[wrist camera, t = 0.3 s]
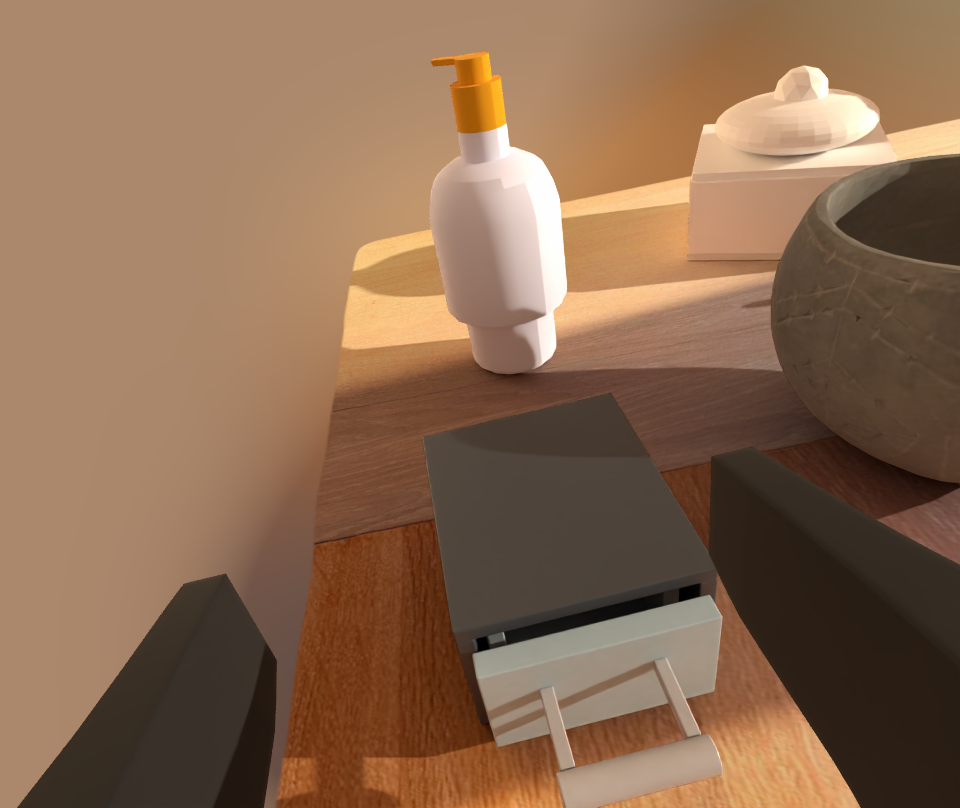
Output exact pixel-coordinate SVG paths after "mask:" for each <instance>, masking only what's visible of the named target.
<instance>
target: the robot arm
mask: <svg viewBox="0 0 960 808" xmlns="http://www.w3.org/2000/svg"><path fill="white" fill-rule="evenodd" d="M709 555H710V557H711V559H712V562H713V564H714V566H715V568H716V570H717V572H718V574H719V576H720V578H721V580H722V583H723V585H724V587H725V589H726V591H727V593H728V595H729V597H730V599H731V601H732V603H733V604H734V606H735V608H736V610H737V612H738V614H739V616H740V618H741V619H742V621H743V623H744V624H745V626H746V627H747V629H748V630H749V632H750V634H751V635H752V637H753V638H754V640H755V641H756V643H757V644H758V646H759V648H760V649H761V651H762V652H763V654H764V655H765V657H766V658H767V660H768V662H769V663H770V665H771V666H772V668H773V669H774V671H775V672H776V674H777V675H778V677H779V678H780V680H781V682H782V683H783V685H784V686H785V688H786V689H787V691H788V692H789V694H790V695H791V697H792V698H793V700H794V701H795V703H796V705H797V706H798V708H799V709H800V711H801V712H802V714H803V715H804V717H805V718H806V720H807V721H808V723H809V724H810V726H811V727H812V729H813V731H814V732H815V734H816V735H817V737H818V738H819V740H820V741H821V743H822V744H823V746H824V747H825V749H826V750H827V752H828V754H829V755H830V757H831V758H832V760H833V761H834V763H835V765H836V766H837V768H838V770H839V771H840V773H841V775H842V776H843V778H844V780H845V781H846V783H847V785H848V786H849V788H850V789H851V791H852V793H853V794H854V796H855V798H856V800H857V802H858V804H859V805H860V807H861V808H960V565H959V564H957V563H955V562H953V561H951V560H949V559H948V558H946V557H944V556H942V555H940V554H938V553H936V552H934V551H932V550H930V549H929V548H927V547H925V546H923V545H921V544H919V543H917V542H915V541H914V540H912V539H910V538H908V537H906V536H904V535H903V534H901V533H899V532H897V531H895V530H894V529H892V528H890V527H888V526H886V525H885V524H883V523H881V522H879V521H878V520H876V519H874V518H872V517H871V516H869V515H867V514H865V513H864V512H862V511H860V510H858V509H857V508H855V507H853V506H851V505H850V504H848V503H846V502H845V501H843V500H841V499H839V498H838V497H836V496H834V495H833V494H831V493H829V492H828V491H826V490H824V489H823V488H821V487H819V486H817V485H816V484H814V483H812V482H811V481H809V480H807V479H806V478H804V477H802V476H801V475H799V474H797V473H796V472H794V471H792V470H791V469H789V468H787V467H786V466H784V465H782V464H781V463H779V462H777V461H776V460H774V459H772V458H770V457H769V456H767V455H765V454H764V453H762V452H760V451H758V450H757V449H755V448H753V447H749V448H745V449H741V450H736V451H732V452H728V453H724V454H720V455H716V456H712V457H711V494H710V533H709ZM276 672H277V660H276V658H275V657H274V655H273V653H272V652H271V650H270V648H269V646H268V645H267V643H266V642H265V640H264V638H263V636H262V634H261V633H260V631H259V629H258V628H257V626H256V624H255V623H254V621H253V619H252V618H251V616H250V614H249V612H248V611H247V609H246V607H245V606H244V604H243V602H242V601H241V599H240V597H239V595H238V594H237V592H236V590H235V589H234V587H233V585H232V583H231V582H230V580H229V578H228V577H227V575H226V574H222V575H218V576H214V577H210V578H206V579H201V580H197V581H193V582H190V583H185V584H183V586H182V587H181V588H180V590H179V591H178V592H177V594H176V595H175V596H174V598H173V599H172V600H171V602H170V603H169V604H168V606H167V607H166V608H165V610H164V611H163V613H162V614H161V615H160V617H159V618H158V620H157V621H156V622H155V624H154V625H153V627H152V628H151V629H150V631H149V632H148V634H147V635H146V636H145V638H144V639H143V641H142V642H141V643H140V645H139V646H138V648H137V649H136V651H135V652H134V654H133V655H132V656H131V657H130V659H129V660H128V662H127V663H126V664H125V666H124V668H123V669H122V670H121V671H120V673H119V674H118V676H117V677H116V678H115V680H114V681H113V683H112V684H111V685H110V687H109V688H108V689H107V691H106V692H105V693H104V695H103V696H102V698H101V699H100V700H99V702H98V703H97V704H96V706H95V707H94V708H93V710H92V711H91V713H90V714H89V715H88V717H87V718H86V720H85V721H84V722H83V724H82V725H81V726H80V728H79V729H78V730H77V732H76V733H75V734H74V736H73V737H72V738H71V740H70V741H69V742H68V743H67V745H66V746H65V747H64V748H63V750H62V751H61V752H60V754H59V755H58V756H57V757H56V759H55V760H54V761H53V763H52V764H51V765H50V766H49V768H48V769H47V770H46V772H45V773H44V774H43V775H42V777H41V778H40V779H39V780H38V782H37V783H36V784H35V785H34V787H33V788H32V789H31V791H30V792H29V793H28V794H27V796H26V797H25V798H24V800H23V801H22V802H21V803H20V805H19V806H18V807H17V808H264V803H265V796H266V789H267V783H268V776H269V768H270V762H271V755H272V748H273V741H274V732H275V713H276V712H275V711H276Z"/></svg>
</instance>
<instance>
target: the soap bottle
mask: <svg viewBox="0 0 960 808" xmlns="http://www.w3.org/2000/svg"><path fill="white" fill-rule="evenodd" d="M431 62H432V65H433V66H443V65H455V66H456V73H457V78H458V81H457V82H455V83H453V84H451V85H450V89H451V95H452V101H453V106H454V113H455V118H456V124H457V131H458V138H459V144H460V149H461V156H458V157H456V158H455V159H454V160H453V161H451V162H450V163H449V164H448V165H446V166H445V167H444V168H443V169H442V170H441V171H440V172H439V173H438V175H437V176H436V178H435V179H434V182H433V187H432V191H431V196H430V226H431V230H432V235H433V240H434V245H435V249H436V254H437V259H438V263H439V268H440V273H441V278H442V282H443V287H444V292H445V297H446V301H447V306H448V311H449V312H450V313H451V314H452V315H453V316H454V317H455V318H456V319H457V320H458V321H459V322H462V323H466V324H467V326H468V331H469V336H470V341H471V347H472V352H473V357H474V359H475V361H476V362H477V363H478V364H479V365H480V366H481V367H482V368H484V369H486V370H489V371H492V372H494V373H499V374H516V373H522V372H527V371H530V370H532V369H535V368H537V367H540V366H541V365H542V364H543V363H545V362H546V361H547V360H548V359H550V358H551V357H552V355H553V353H554V351H555V348H556V335H555V325H554V315H553V310H554V309H556V308H557V307H558V306H560V305H561V303H562V301H563V299H564V297H565V295H566V293H567V281H566V269H565V257H564V245H563V233H562V221H561V210H560V199H559V195H558V192H557V190H556V186H555V184H554V181H553V179H552V177H551V175H550V173H549V171H548V170H547V168H546V166H545V164H544V163H543V161H542V160H541V159H539V158H538V157H537V156H535V155H534V154H532V153H529V152H526V151H523V150H521V149H518V148H515V147H509V140H508V132H507V124H506V118H505V111H504V102H503V94H502V86H501V78H500V76H497V75H491V68H490V61H489V53H488V52H477V53H471V54H466V55H462V56H453V57H441V58H436V59H433V60H431Z"/></svg>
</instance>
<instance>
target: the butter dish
mask: <svg viewBox="0 0 960 808" xmlns="http://www.w3.org/2000/svg"><path fill="white" fill-rule="evenodd" d="M879 119H880V113H879V108H878V107H877V106H876V105H875V104H874V103H873V102H872V101H871V100H869V99H867V98H865V97H863V96H861V95H859V94H855V93H851V92H848V91H844V90H838V89H828V78H827V77H826V76H825V75H824V74H823V73H822V72H821V71H820V69H818V68H814V67H808V66H801V67H798V68H794V69H791V70H790V71H789V72H788V73H787V74H786V75H785V76H784V77H783V78H782V79H780V80H779V81H778V84H777V87H776V90H775V92H771V93H767V94H762V95H759V96H755V97H752V98H750V99H747V100H745V101H742V102H740V103H738V104H736V105H734V106H732V107H731V108H729V109H728V110H726V111H725V112H724V113H723V114H722V115H721V116H720V117H719V118H718V120H717V122H716V124H708V125H704V127H703V131H702V133H701V138H700V142H699V146H698V150H697V155H696V159H695V164H694V168H693V172H692V176H691V180H690V193H689V222H688V250H687V260H780V259H781V257H782V255H783V252H784V250H785V247H786V245H787V244H788V242H789V240H790V238H791V236H792V235H793V233H794V231H795V230H796V228H797V226H798V225H799V223H800V221H801V220H802V218H803V216H804V215H805V213H806V211H807V210H808V209H809V207H810V206H811V205H812V203H813V202H814V201H815V199H816V198H817V196H819V195H820V194H821V193H822V192H823V191H824V190H825V189H827V188H828V187H829V186H830V185H831V184H833V183H835V182H836V181H838V180H840V179H841V178H843V177H846V176H848V175H850V174H852V173H855V172H857V171H860V170H863V169H865V168H868V167H872V166H876V165H880V164H885V163H890V162H895V161H898V159H897V157H896V155H895V153H894V151H893V149H892V147H891V145H890V143H889V141H888V139H887V137H886V135H885V133H884V131H883V129H882V127H881V125H880V123H879Z"/></svg>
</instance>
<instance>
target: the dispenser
mask: <svg viewBox="0 0 960 808" xmlns="http://www.w3.org/2000/svg"><path fill="white" fill-rule="evenodd" d="M422 440H423V446H424V453H425V459H426V466H427V472H428V479H429V485H430V492H431V498H432V505H433V511H434V518H435V524H436V531H437V537H438V544H439V550H440V556H441V563H442V569H443V576H444V582H445V589H446V595H447V602H448V608H449V615H450V621H451V628H452V634H453V637H454V640H455V642H456V646H457V650H458V653H459V656H460V659H461V662H462V666H463V669H464V672H465V675H466V678H467V681H468V685H469V688H470V691H471V694H472V697H473V701H474V704H475V707H476V710H477V713H478V717H479V720H480V723H481V724H485V723H489V719H488V716H487V712H486V709H485V706H484V702H483V699H482V696H481V692H480V689H479V686H478V682H477V679H476V673H475V668H474V662H473V657H472V656H473V654H474V653H478V652H482V651H486V650H490V648H489V645H488V641H487V637H486V636H489V635H493V634H497V633H501V632H505V631H509V630H513V629H518V628H522V627H526V626H530V625H534V624H538V623H542V622H546V621H550V620H554V619H558V618H562V617H566V616H570V615H574V614H578V613H582V612H586V611H590V610H594V609H598V608H602V607H606V606H610V605H614V604H618V603H622V602H626V601H630V600H634V599H638V598H642V597H646V596H650V595H654V594H658V593H662V592H666V591H670V590H674V589H678V588H679V602H682V601H686V600H690V599H694V598H698V597H702V596H706V595H710V596H711V598H712V600H713V601H714V603H715V596H716V586H717V574H718V572H717V570H716V568H715V566H714V564H713V562H712V559H711V557H710V555H709V552H708V550H707V549H706V547H705V546H704V544H703V542H702V541H701V539H700V537H699V536H698V534H697V532H696V531H695V529H694V528H693V526H692V524H691V523H690V521H689V519H688V518H687V516H686V515H685V513H684V511H683V510H682V508H681V506H680V505H679V503H678V501H677V500H676V498H675V497H674V495H673V493H672V492H671V490H670V488H669V487H668V485H667V484H666V482H665V480H664V479H663V477H662V475H661V474H660V472H659V470H658V469H657V467H656V466H655V464H654V462H653V461H652V459H651V457H650V456H649V454H648V452H647V451H646V449H645V448H644V446H643V444H642V443H641V441H640V439H639V438H638V436H637V435H636V433H635V431H634V430H633V428H632V426H631V425H630V423H629V421H628V420H627V418H626V417H625V415H624V413H623V412H622V410H621V408H620V407H619V405H618V404H617V402H616V400H615V399H614V397H613V395H612V394H611V393H608V394H604V395H600V396H596V397H591V398H587V399H583V400H578V401H574V402H570V403H566V404H561V405H557V406H553V407H548V408H544V409H540V410H536V411H531V412H527V413H523V414H518V415H514V416H510V417H506V418H501V419H497V420H493V421H488V422H484V423H480V424H476V425H471V426H467V427H463V428H458V429H454V430H450V431H446V432H441V433H437V434H433V435H428V436H424V437H423V438H422Z"/></svg>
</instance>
